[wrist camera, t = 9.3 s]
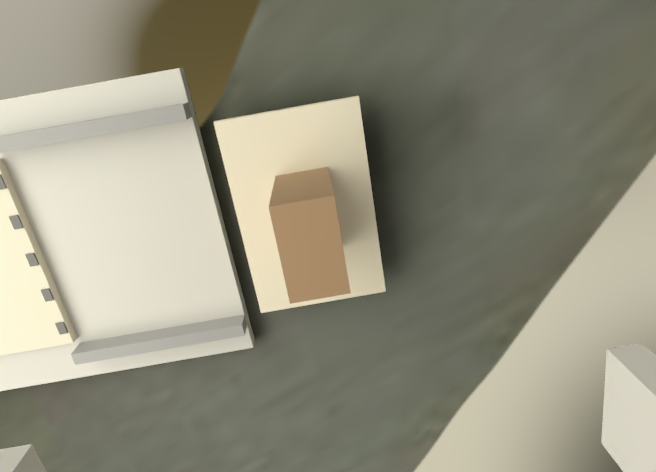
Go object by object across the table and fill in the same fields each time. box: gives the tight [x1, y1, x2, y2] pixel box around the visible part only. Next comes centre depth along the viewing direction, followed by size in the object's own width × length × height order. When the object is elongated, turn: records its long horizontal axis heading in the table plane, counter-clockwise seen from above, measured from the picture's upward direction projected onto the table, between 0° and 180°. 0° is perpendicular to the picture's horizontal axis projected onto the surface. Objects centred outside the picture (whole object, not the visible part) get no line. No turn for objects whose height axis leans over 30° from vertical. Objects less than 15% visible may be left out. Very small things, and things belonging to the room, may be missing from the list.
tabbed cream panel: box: [213, 96, 386, 313], centre depth 25 cm, size 8×12×7 cm, turn 9°
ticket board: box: [0, 68, 255, 391], centre depth 29 cm, size 24×18×2 cm
